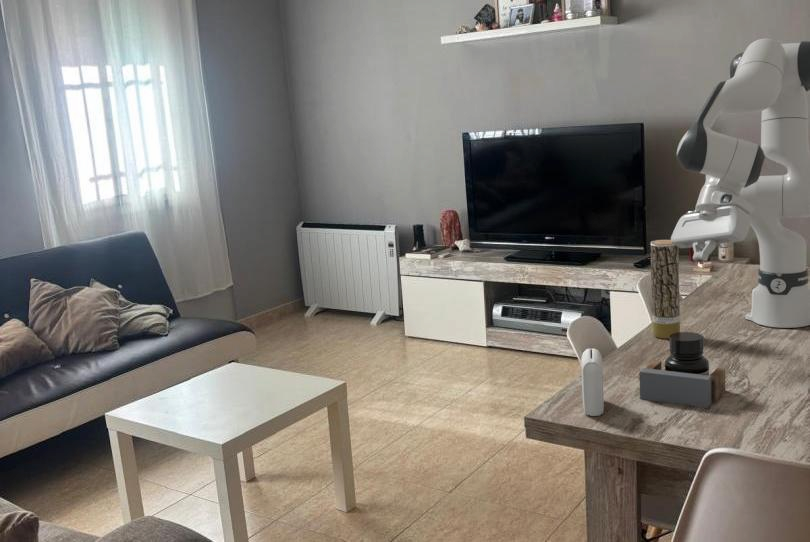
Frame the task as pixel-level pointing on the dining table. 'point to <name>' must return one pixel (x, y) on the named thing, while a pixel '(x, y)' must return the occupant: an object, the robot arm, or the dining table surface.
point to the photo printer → (592, 382)
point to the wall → (675, 387)
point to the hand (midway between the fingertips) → (699, 260)
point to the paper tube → (665, 288)
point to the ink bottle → (687, 354)
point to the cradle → (716, 380)
